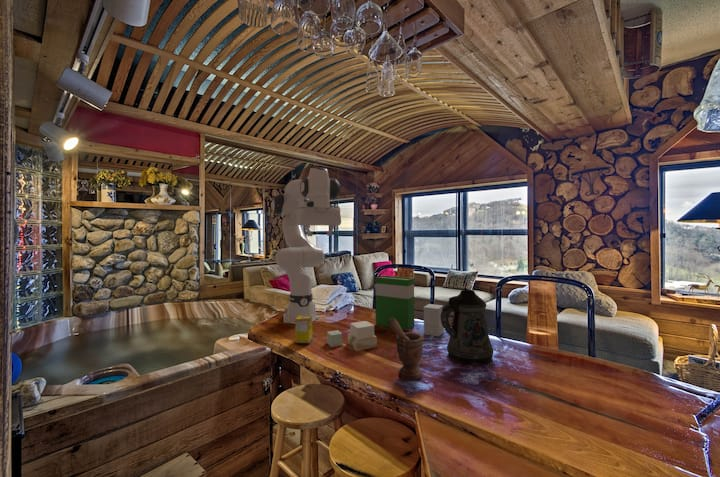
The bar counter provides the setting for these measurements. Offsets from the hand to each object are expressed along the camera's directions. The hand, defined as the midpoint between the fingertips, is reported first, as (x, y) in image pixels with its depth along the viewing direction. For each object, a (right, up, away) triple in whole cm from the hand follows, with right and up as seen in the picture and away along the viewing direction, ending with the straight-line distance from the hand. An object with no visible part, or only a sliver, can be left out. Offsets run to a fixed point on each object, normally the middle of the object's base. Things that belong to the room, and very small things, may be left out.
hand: (319, 236), depth 139 cm
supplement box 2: (+52, -45, +8) cm, 69 cm away
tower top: (+18, -41, -6) cm, 46 cm away
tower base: (+18, -46, -6) cm, 50 cm away
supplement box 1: (-7, -46, -2) cm, 46 cm away
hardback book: (+35, -45, +20) cm, 60 cm away
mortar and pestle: (+33, -47, -35) cm, 67 cm away
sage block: (+7, -46, -5) cm, 46 cm away
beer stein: (+58, -46, -20) cm, 76 cm away
